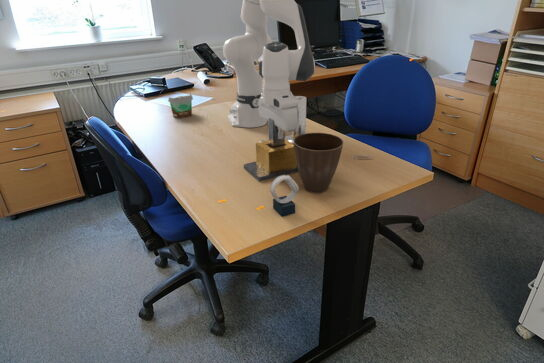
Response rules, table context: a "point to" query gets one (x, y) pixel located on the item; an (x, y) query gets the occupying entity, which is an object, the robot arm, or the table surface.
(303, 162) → the plant pot
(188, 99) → the food container
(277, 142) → the grey square rod
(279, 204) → the watch
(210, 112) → the table surface
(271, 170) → the gold block fixture
